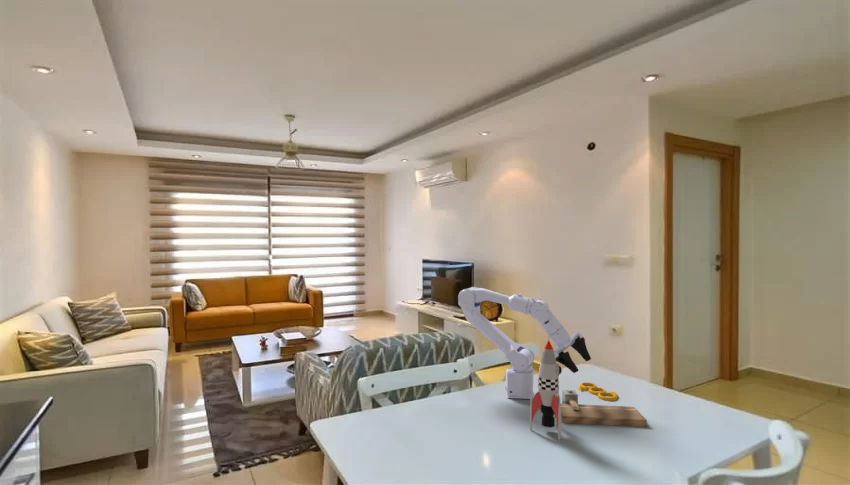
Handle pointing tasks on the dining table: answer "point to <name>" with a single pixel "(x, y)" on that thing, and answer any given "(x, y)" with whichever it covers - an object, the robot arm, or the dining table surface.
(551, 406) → the toy
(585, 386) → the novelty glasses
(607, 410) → the board
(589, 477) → the dining table surface
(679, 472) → the dining table surface
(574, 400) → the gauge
